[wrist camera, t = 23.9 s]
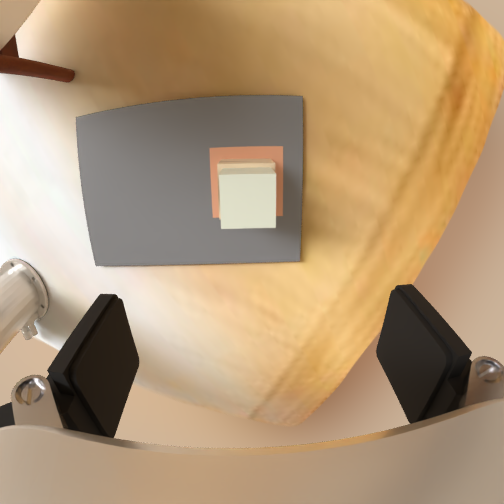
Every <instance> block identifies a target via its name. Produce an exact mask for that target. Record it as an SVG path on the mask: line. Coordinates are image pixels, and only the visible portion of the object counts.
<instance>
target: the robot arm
mask: <svg viewBox="0 0 504 504" xmlns="http://www.w3.org/2000/svg"><path fill="white" fill-rule="evenodd" d="M47 309H48V296H47V292H46V289H45V286H44V284H43V282H42V280H41V279H40V277H39V275H38V274H37V273H36V272H35V270H34V269H33V268H32V267H31V266H29V265H28V264H27V263H26V262H24V261H22V260H19V259H9V260H8V261H6V262H5V263H4V264H3V265H2V266H1V268H0V354H1V353H2V351H3V350H4V349H5V348H6V346H7V345H8V344H9V343H10V342H11V340H12V339H13V338H14V337H15V336H16V334H17V333H18V332H19V331H20V330H22V333H23V335H24V338H25V339H26V340H29V339H31V338H32V337H33V336H35V335H37V334H38V332H37V329H36V327H35V325H34V321H35V320H39V319H41V318H42V317H43V316H44V315H45V313H46V311H47ZM28 326H29V327H28ZM29 328H30V329H29ZM32 335H33V336H32ZM376 353H377V357H378V360H379V362H380V363H381V365H382V367H383V369H384V371H385V373H386V375H387V377H388V379H389V381H390V383H391V385H392V387H393V390H394V392H395V394H396V396H397V398H398V400H399V402H400V404H401V406H402V408H403V410H404V412H405V414H406V417H407V419H408V421H409V423H410V424H408V425H405V426H401V427H397V428H393V429H389V430H385V431H381V432H376V433H372V434H367V435H362V436H357V437H352V438H346V439H339V440H333V441H327V442H319V443H311V444H302V445H292V446H279V447H263V448H198V447H197V448H196V447H180V446H169V445H159V444H149V443H142V442H135V441H128V440H121V439H115V438H114V436H115V433H116V430H117V427H118V424H119V421H120V418H121V415H122V412H123V409H124V406H125V403H126V401H127V398H128V394H129V392H130V389H131V386H132V383H133V381H134V378H135V375H136V372H137V370H138V367H139V356H138V353H137V350H136V347H135V343H134V340H133V337H132V333H131V330H130V326H129V323H128V319H127V316H126V312H125V308H124V304H123V301H122V299H120V298H118V297H117V295H116V294H100V295H99V296H98V298H97V299H96V300H95V302H94V303H93V304H92V306H91V307H90V308H89V310H88V311H87V312H86V314H85V315H84V317H83V318H82V319H81V321H80V322H79V324H78V325H77V327H76V328H75V329H74V331H73V332H72V334H71V335H70V337H69V338H68V340H67V341H66V342H65V344H64V345H63V347H62V348H61V350H60V351H59V353H58V355H57V356H56V358H55V359H54V361H53V362H52V364H51V365H50V367H49V368H48V370H47V371H48V373H49V375H48V377H47V378H45V377H43V376H40V375H30V376H27V377H25V378H23V379H21V380H20V381H19V382H18V383H17V384H16V385H15V386H14V388H13V390H12V393H11V400H12V402H10V403H8V404H5V405H3V406H0V504H504V366H503V365H502V364H501V363H500V362H498V361H497V360H496V359H493V358H491V357H487V356H482V357H477V358H476V359H474V360H473V361H471V360H470V359H469V358H470V356H471V354H472V352H471V351H470V350H469V348H468V347H467V346H466V345H465V343H464V342H463V341H462V340H461V339H460V337H459V336H458V335H457V334H456V333H455V331H454V330H453V329H452V328H451V327H450V326H449V325H448V323H447V322H446V321H445V320H444V319H443V318H442V316H441V315H440V314H439V313H438V312H437V311H436V310H435V309H434V307H433V306H432V305H431V304H430V303H429V302H428V301H427V300H426V299H425V298H424V297H423V295H422V294H421V293H420V292H419V291H418V290H417V289H416V288H415V287H414V286H413V285H412V284H407V285H397V286H396V287H395V289H394V290H392V291H391V294H390V298H389V302H388V306H387V311H386V315H385V319H384V323H383V327H382V330H381V335H380V338H379V342H378V345H377V350H376Z"/></svg>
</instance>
